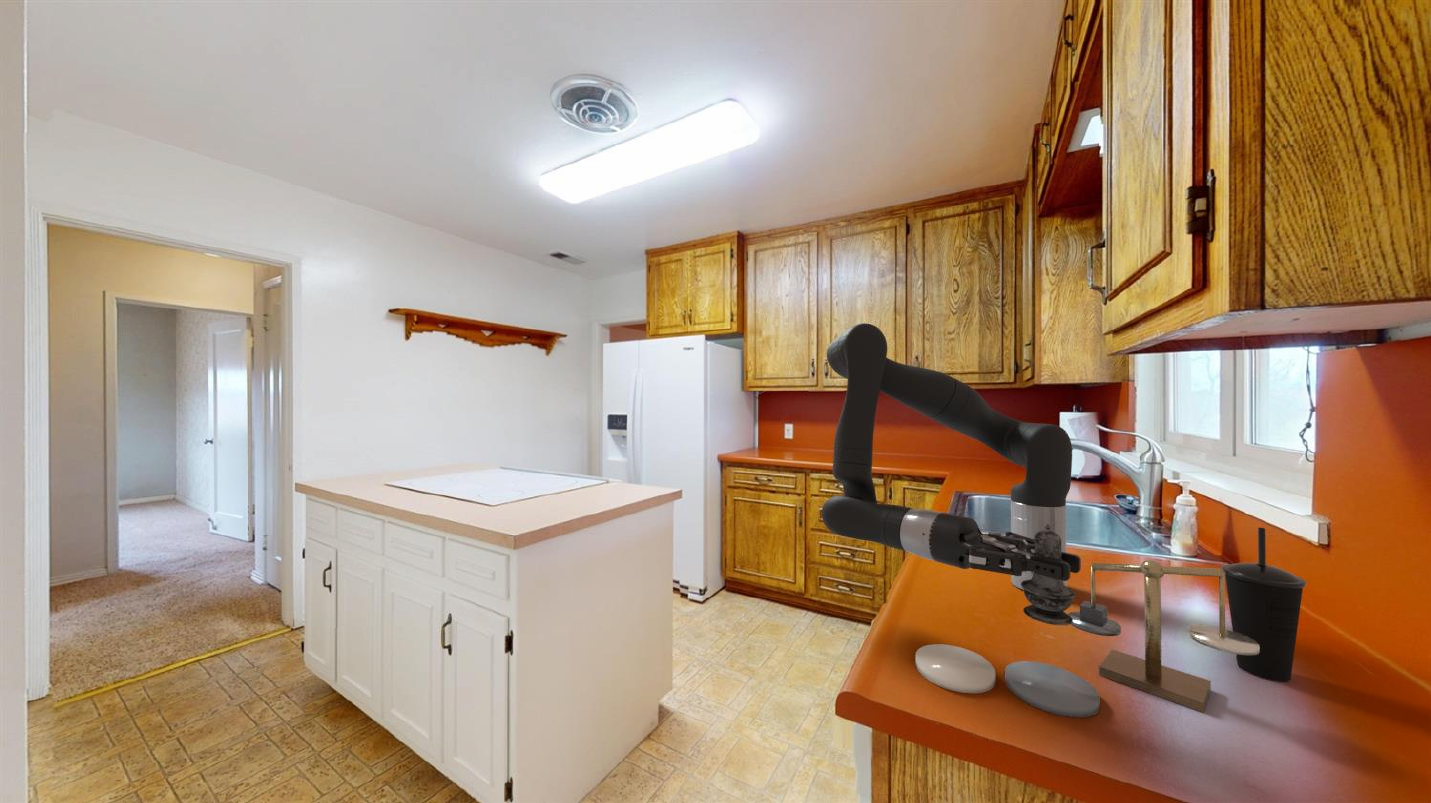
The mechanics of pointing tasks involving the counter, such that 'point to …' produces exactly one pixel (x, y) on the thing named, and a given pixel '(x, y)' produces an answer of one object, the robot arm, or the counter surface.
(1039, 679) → the slate-grey dish
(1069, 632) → the counter surface
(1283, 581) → the drinking cup
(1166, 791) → the counter surface
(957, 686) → the cream dish
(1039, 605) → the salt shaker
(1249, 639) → the brass balance
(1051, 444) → the robot arm
